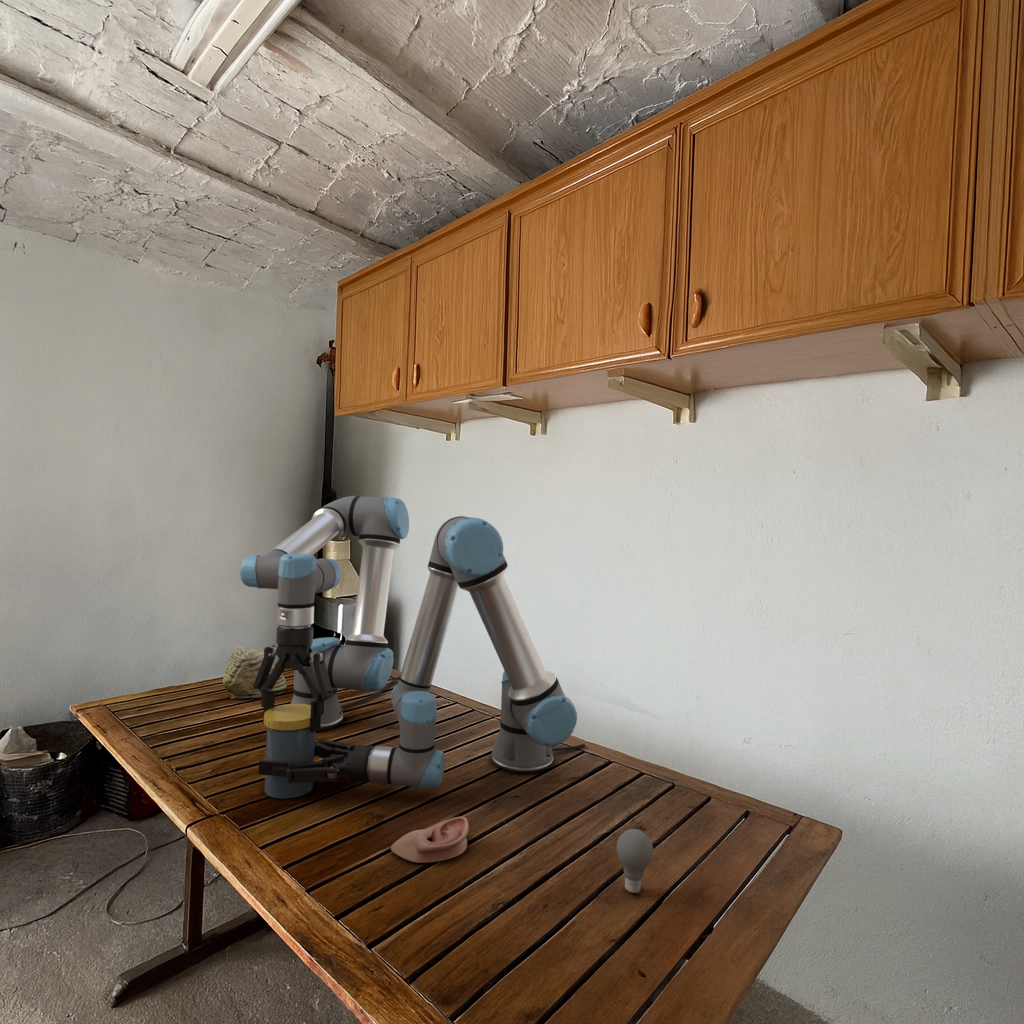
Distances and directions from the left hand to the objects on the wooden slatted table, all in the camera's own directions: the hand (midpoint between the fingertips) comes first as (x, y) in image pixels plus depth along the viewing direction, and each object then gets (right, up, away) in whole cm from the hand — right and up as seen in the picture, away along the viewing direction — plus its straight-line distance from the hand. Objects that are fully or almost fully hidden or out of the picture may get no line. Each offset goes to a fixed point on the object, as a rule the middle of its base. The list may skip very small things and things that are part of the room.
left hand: (291, 726), depth 137 cm
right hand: (-5, -7, 0) cm, 8 cm away
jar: (-1, -13, 0) cm, 13 cm away
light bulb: (+68, -17, -31) cm, 77 cm away
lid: (0, +3, 0) cm, 3 cm away
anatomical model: (+33, -15, -21) cm, 42 cm away
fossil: (-33, -11, +61) cm, 70 cm away
